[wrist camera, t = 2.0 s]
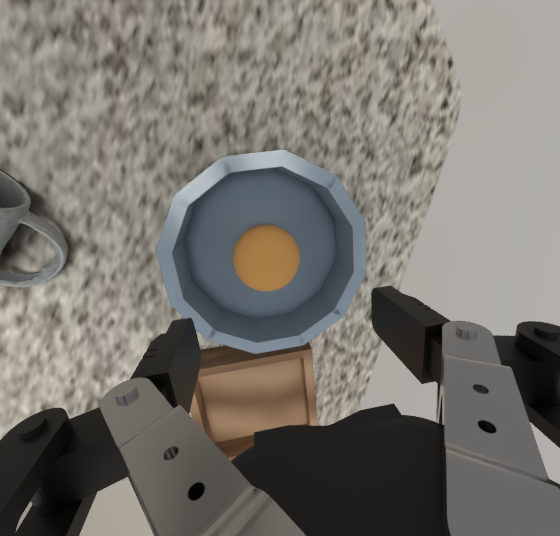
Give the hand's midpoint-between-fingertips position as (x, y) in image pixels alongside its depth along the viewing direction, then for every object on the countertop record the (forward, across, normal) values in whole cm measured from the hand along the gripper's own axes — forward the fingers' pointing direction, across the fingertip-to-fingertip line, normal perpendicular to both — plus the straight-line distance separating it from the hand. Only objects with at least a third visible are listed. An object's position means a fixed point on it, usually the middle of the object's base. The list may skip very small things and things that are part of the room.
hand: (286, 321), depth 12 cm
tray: (+14, +3, +15) cm, 21 cm away
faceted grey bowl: (+13, 0, 0) cm, 13 cm away
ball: (+10, 0, 0) cm, 10 cm away
